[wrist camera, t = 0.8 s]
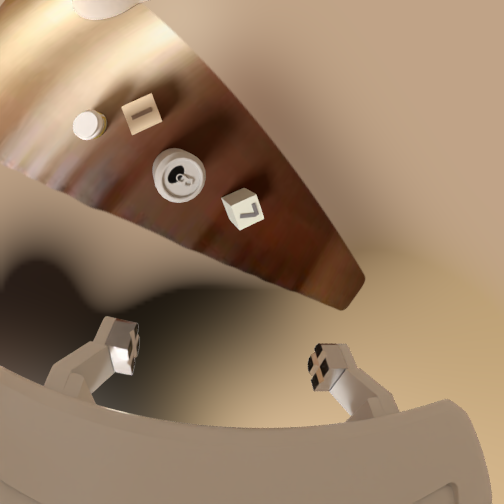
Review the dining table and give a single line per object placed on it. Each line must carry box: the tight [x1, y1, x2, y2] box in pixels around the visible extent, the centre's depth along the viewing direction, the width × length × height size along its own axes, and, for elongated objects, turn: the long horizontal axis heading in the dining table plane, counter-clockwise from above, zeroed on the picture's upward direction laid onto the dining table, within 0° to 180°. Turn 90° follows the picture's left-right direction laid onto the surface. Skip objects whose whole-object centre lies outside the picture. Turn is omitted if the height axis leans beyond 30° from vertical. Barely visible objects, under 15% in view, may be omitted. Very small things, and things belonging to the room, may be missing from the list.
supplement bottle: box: [73, 110, 107, 140], centre depth 33 cm, size 5×5×8 cm
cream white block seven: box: [222, 188, 264, 230], centre depth 51 cm, size 5×5×6 cm
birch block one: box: [121, 93, 162, 135], centre depth 37 cm, size 5×5×6 cm
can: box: [152, 148, 206, 203], centre depth 40 cm, size 8×8×12 cm
